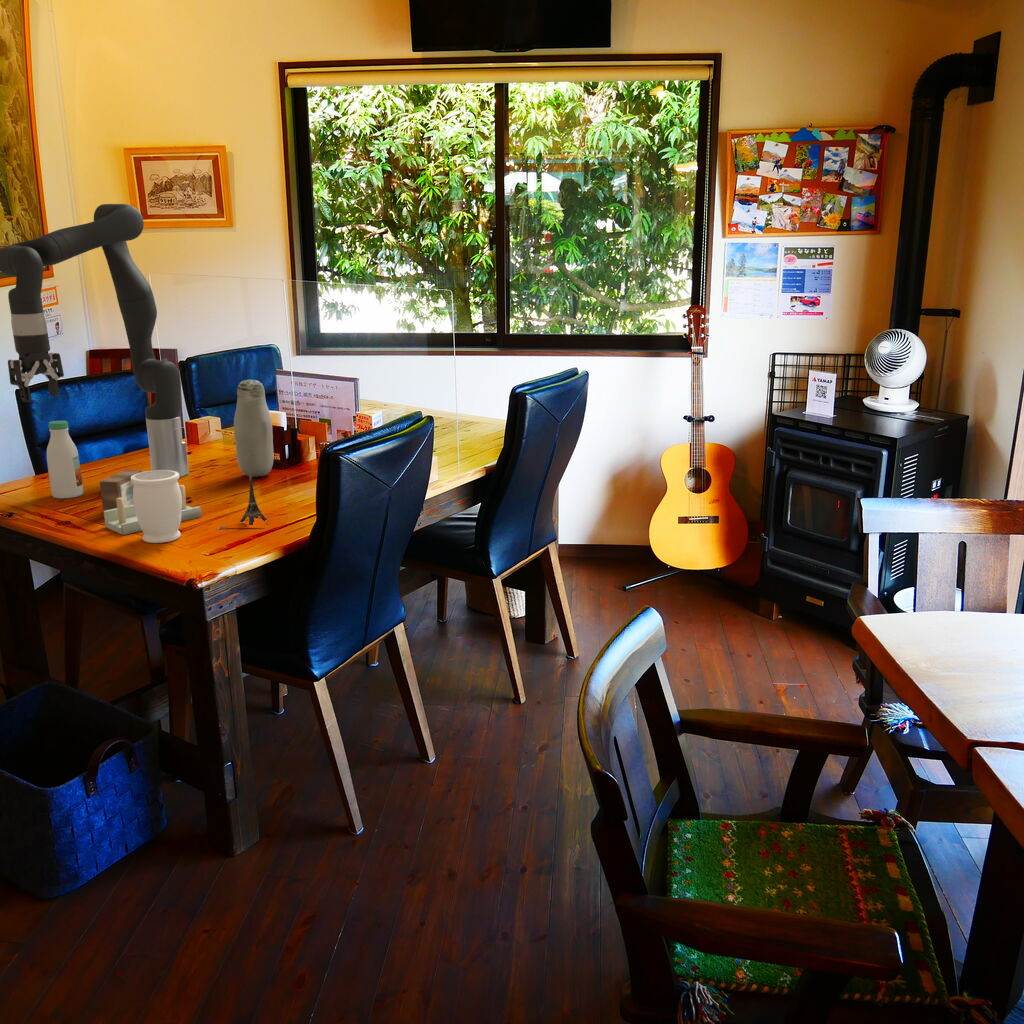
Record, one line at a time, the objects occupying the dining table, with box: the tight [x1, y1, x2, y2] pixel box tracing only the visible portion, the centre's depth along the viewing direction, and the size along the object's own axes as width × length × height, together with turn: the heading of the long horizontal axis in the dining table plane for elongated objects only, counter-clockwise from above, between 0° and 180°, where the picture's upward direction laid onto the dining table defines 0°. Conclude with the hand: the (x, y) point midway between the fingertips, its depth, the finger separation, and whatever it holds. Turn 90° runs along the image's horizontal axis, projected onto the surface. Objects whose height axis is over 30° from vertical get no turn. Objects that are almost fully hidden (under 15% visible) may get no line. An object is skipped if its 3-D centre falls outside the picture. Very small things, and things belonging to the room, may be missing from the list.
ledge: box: [103, 484, 202, 536], centre depth 223 cm, size 20×9×8 cm, turn 138°
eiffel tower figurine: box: [217, 475, 268, 530], centre depth 222 cm, size 15×10×13 cm
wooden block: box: [99, 469, 143, 513], centre depth 233 cm, size 12×5×9 cm, turn 173°
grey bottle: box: [233, 379, 275, 478], centre depth 263 cm, size 10×10×28 cm
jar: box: [131, 470, 182, 544], centre depth 210 cm, size 11×10×15 cm
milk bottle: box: [46, 420, 84, 500], centre depth 243 cm, size 8×8×20 cm
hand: (40, 398), depth 227 cm, fingers open, 8 cm apart
